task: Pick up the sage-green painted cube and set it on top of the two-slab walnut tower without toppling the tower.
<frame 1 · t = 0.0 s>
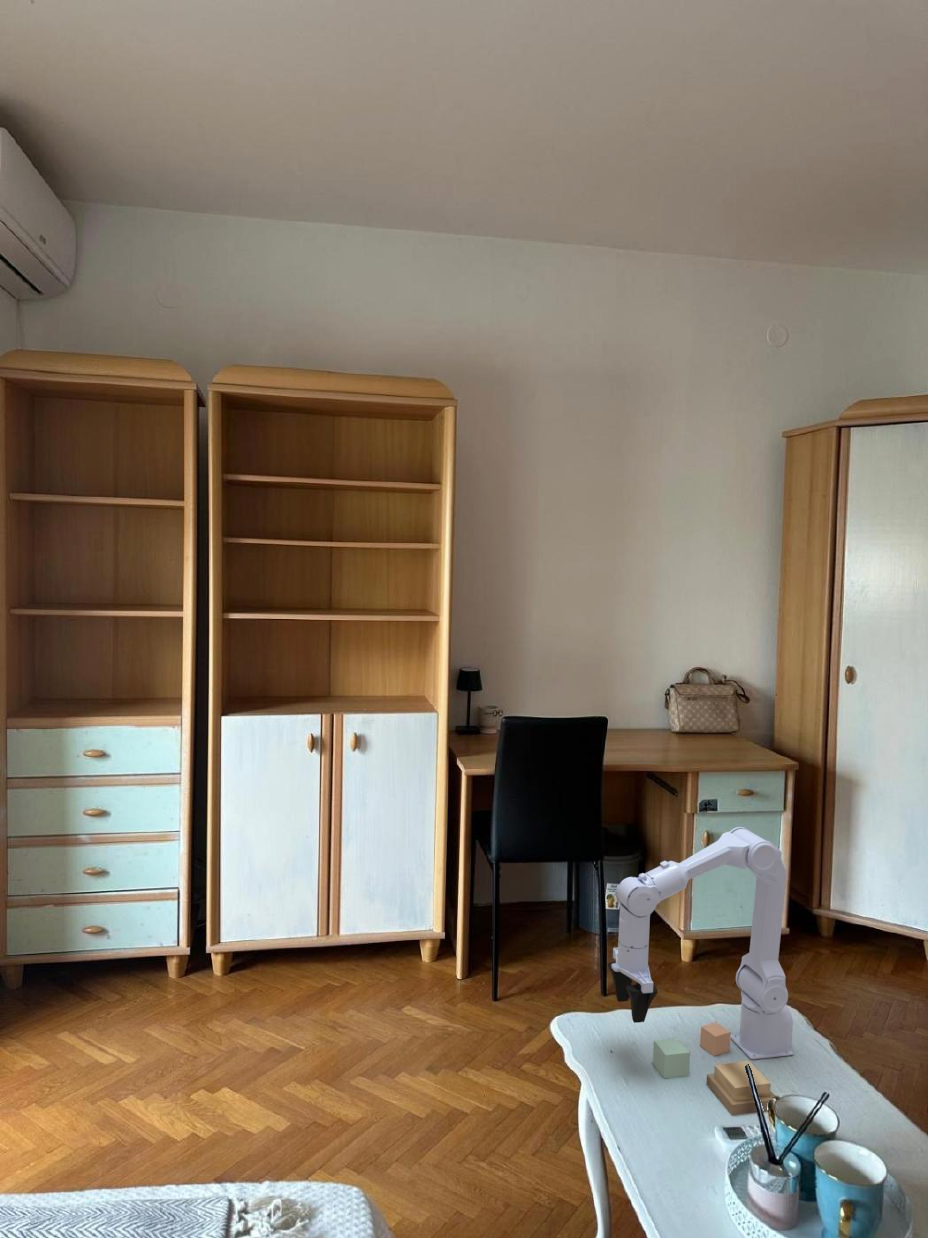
hand: (630, 1011, 165), 10 cm above the table, fingers open, 7 cm apart
slab top: (741, 1086, 156), point 2 cm above the table, touching slab bottom
slab bottom: (741, 1099, 156), on the table, touching slab top
sage cube: (670, 1069, 164), on the table
terracotta cube: (714, 1048, 171), on the table
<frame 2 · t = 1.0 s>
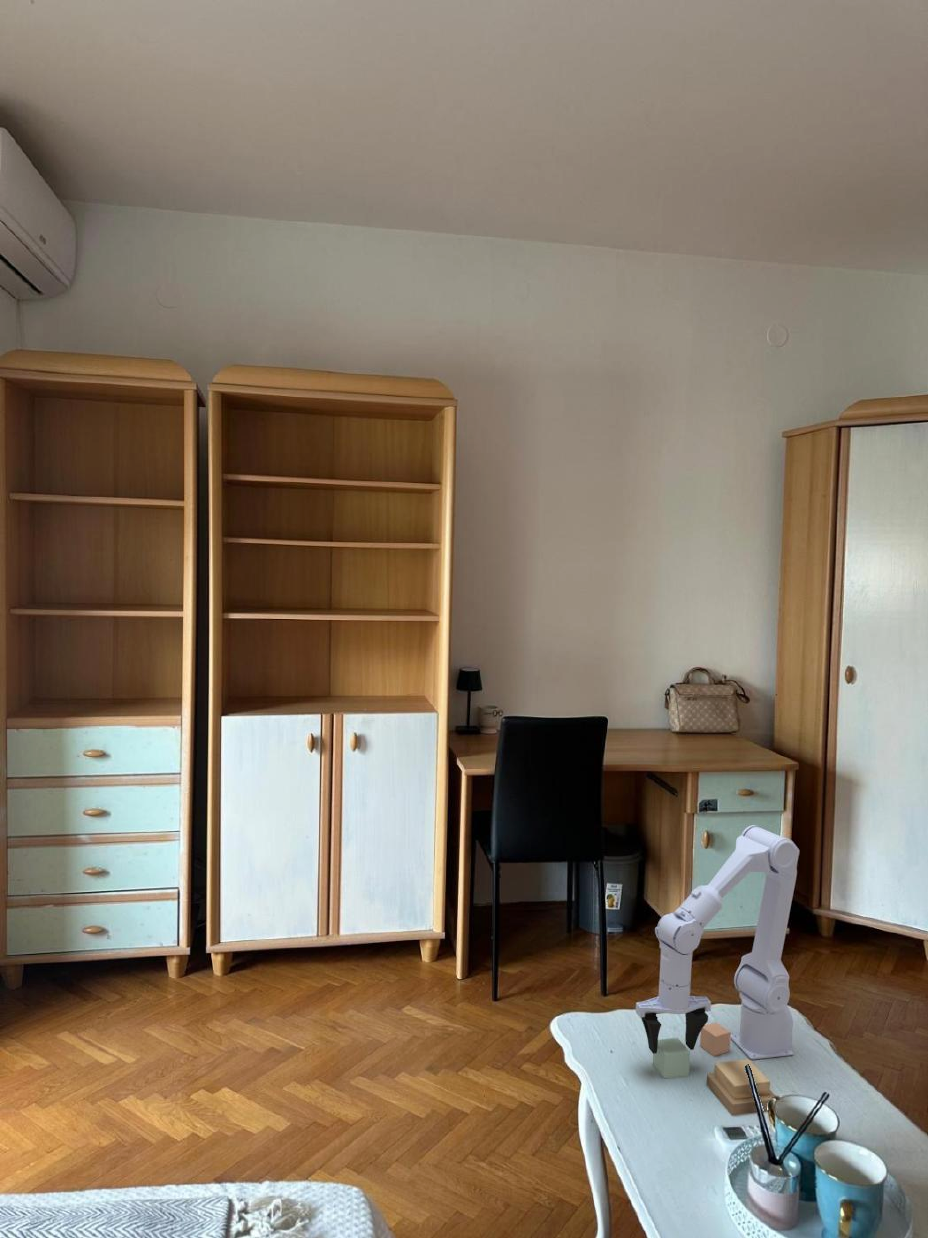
hand: (671, 1049, 163), 4 cm above the table, fingers open, 7 cm apart
slab top: (741, 1085, 156), point 2 cm above the table
slab bottom: (741, 1099, 156), on the table
everything else where it was.
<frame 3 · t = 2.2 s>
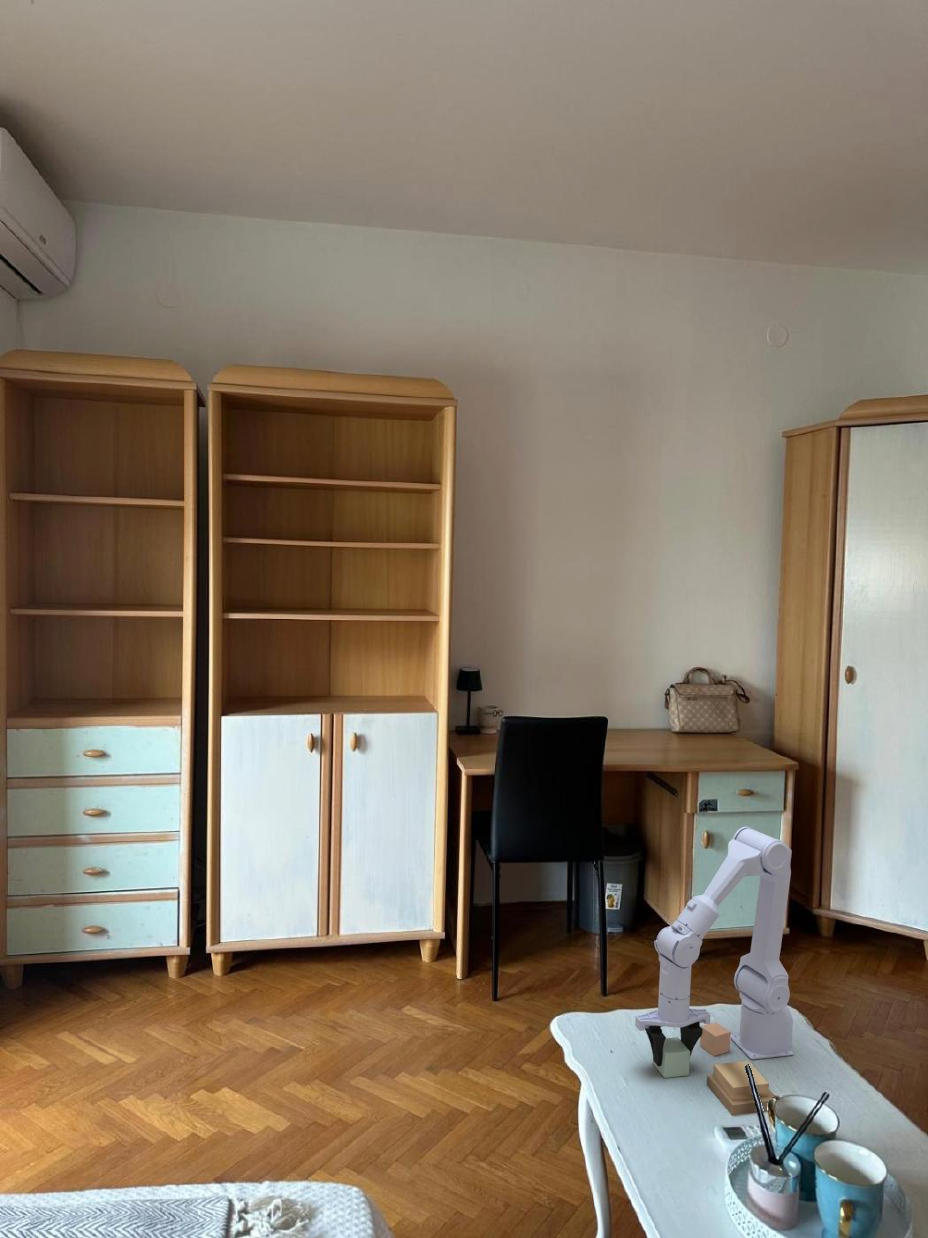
hand: (670, 1061, 164), 1 cm above the table, fingers closed on sage cube, 5 cm apart
slab top: (740, 1086, 156), point 2 cm above the table, touching slab bottom
slab bottom: (741, 1099, 156), on the table, touching slab top
sage cube: (670, 1069, 164), on the table, touching gripper
everything else where it was.
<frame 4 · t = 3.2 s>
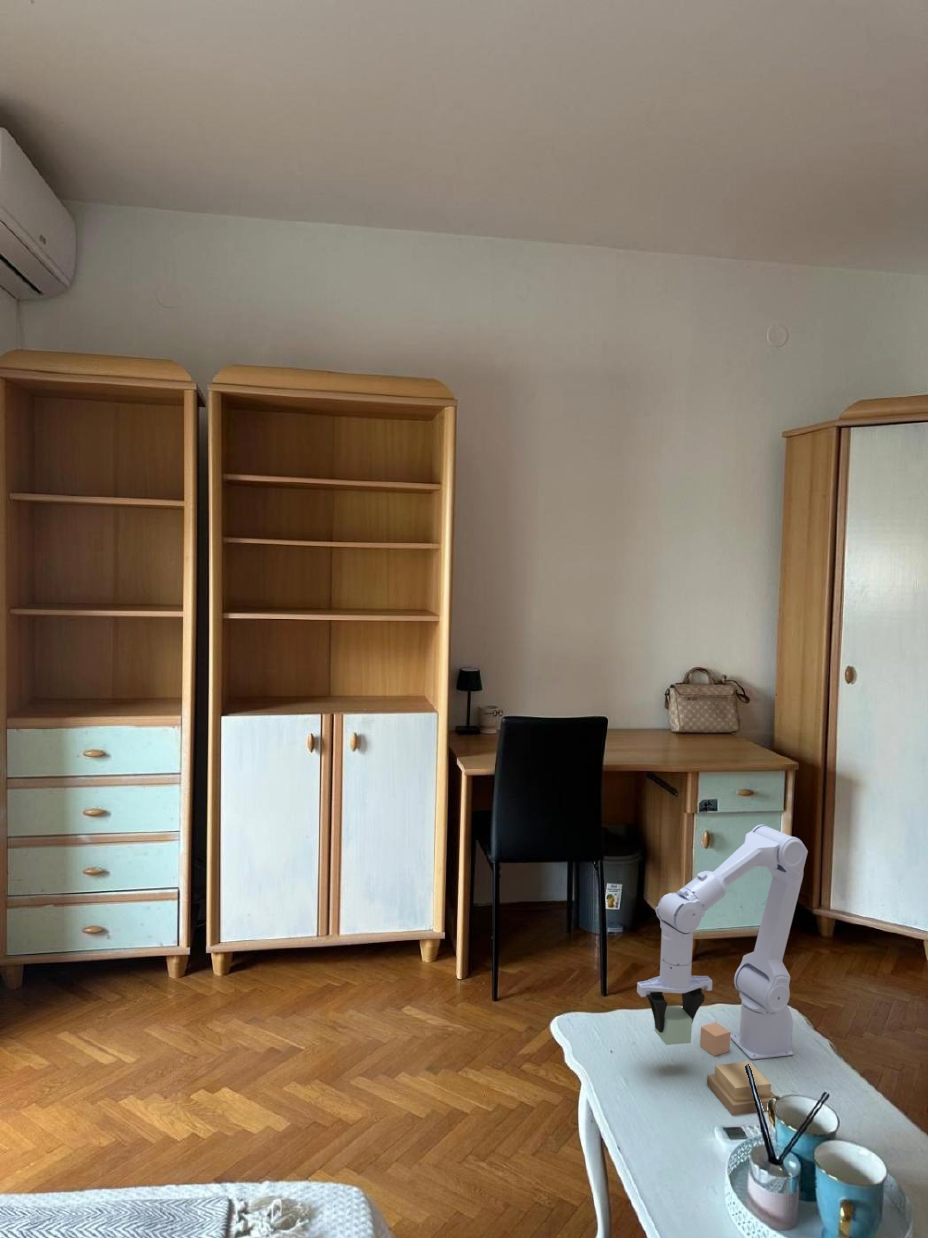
hand: (672, 1028, 163), 8 cm above the table, fingers closed on sage cube, 5 cm apart
sage cube: (672, 1036, 163), point 6 cm above the table, touching gripper
everything else where it was.
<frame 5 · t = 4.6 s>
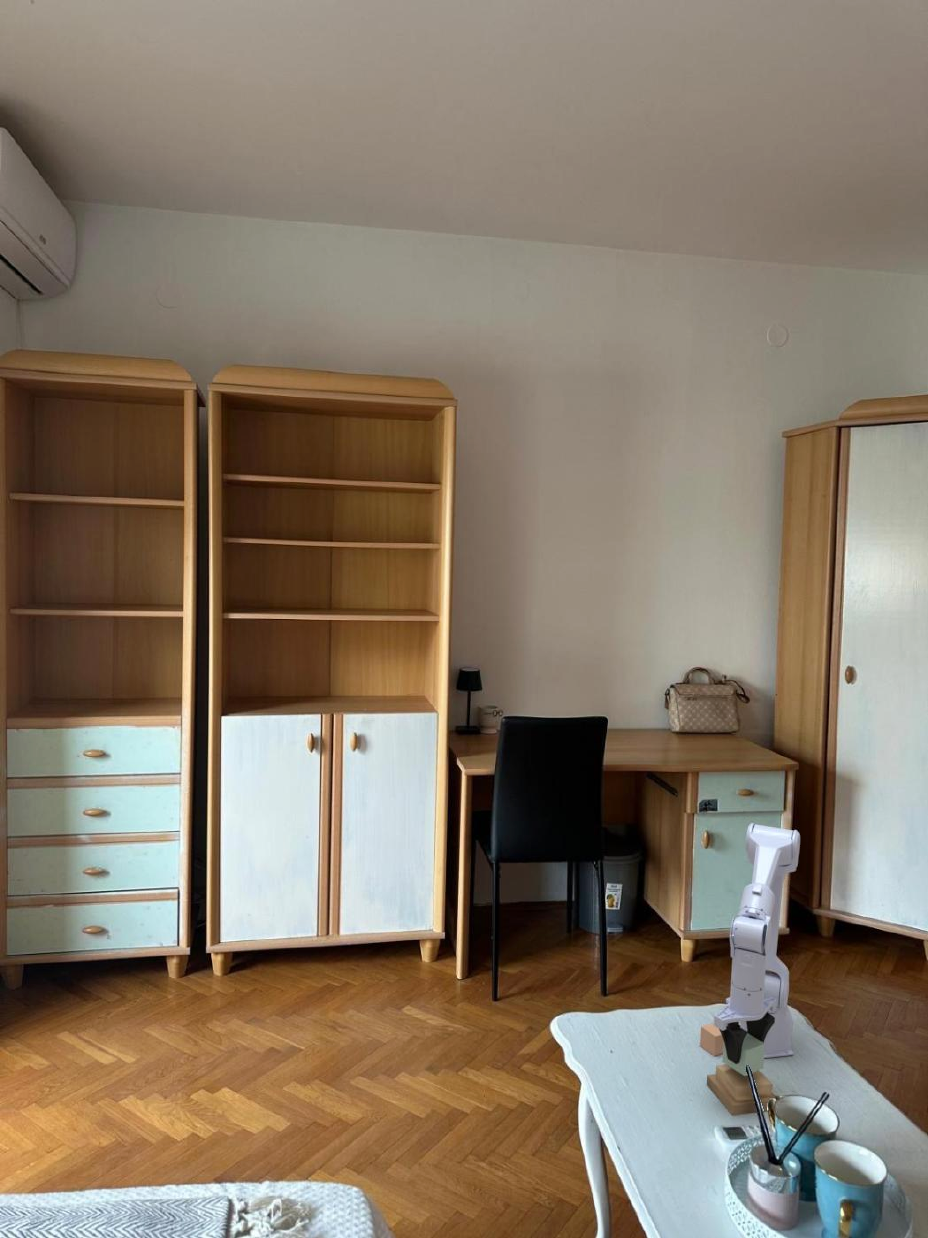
hand: (743, 1056, 155), 7 cm above the table, fingers closed on sage cube, 5 cm apart
sage cube: (742, 1065, 156), point 6 cm above the table, touching gripper
everything else where it was.
when the fingers open (7 cm above the table, at t = 5.5 s): sage cube drops 2 cm, resting on slab top.
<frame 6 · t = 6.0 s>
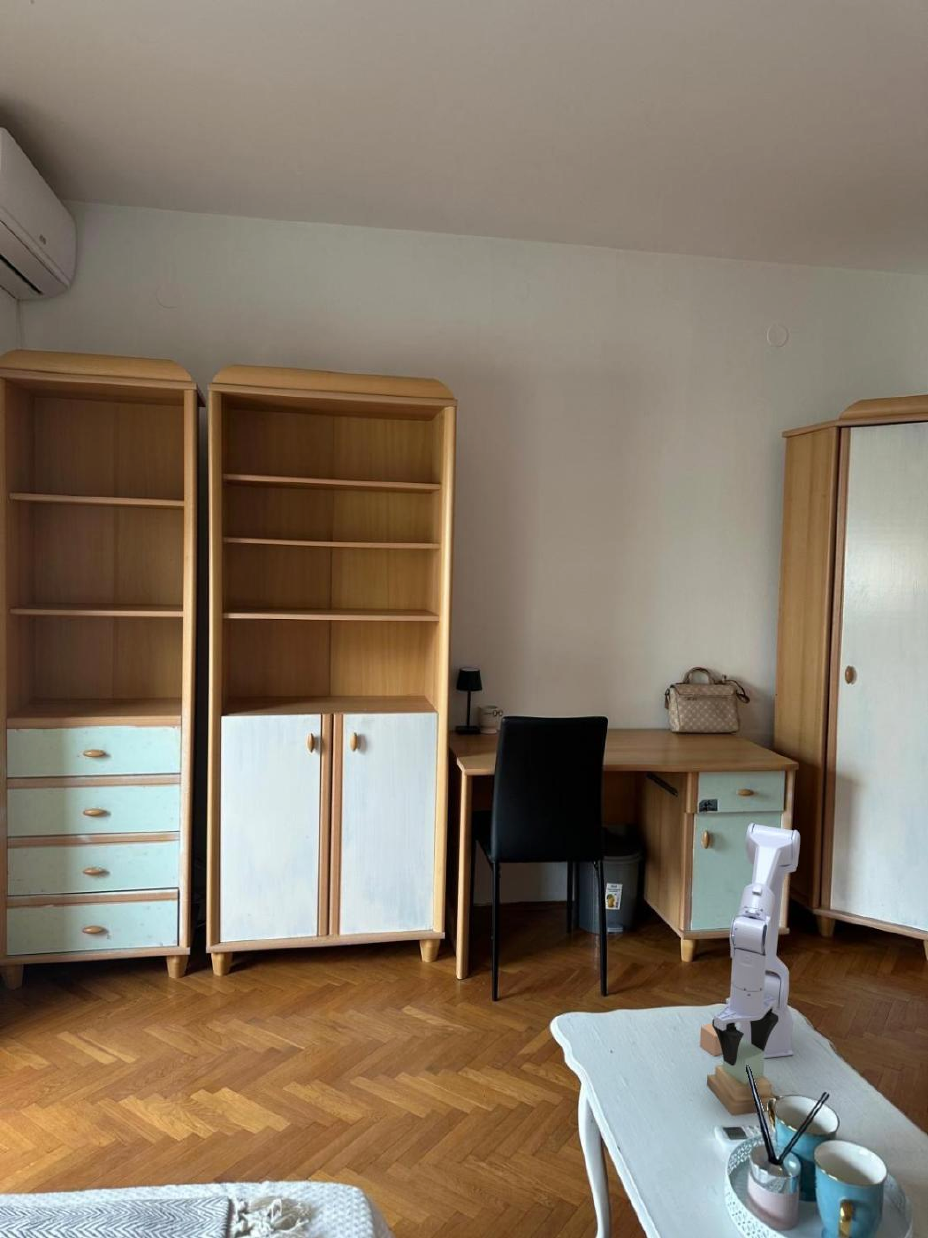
hand: (743, 1056, 155), 7 cm above the table, fingers open, 7 cm apart
slab top: (742, 1087, 156), point 2 cm above the table, touching sage cube, slab bottom
sage cube: (742, 1073, 156), point 4 cm above the table, touching slab top
everything else where it was.
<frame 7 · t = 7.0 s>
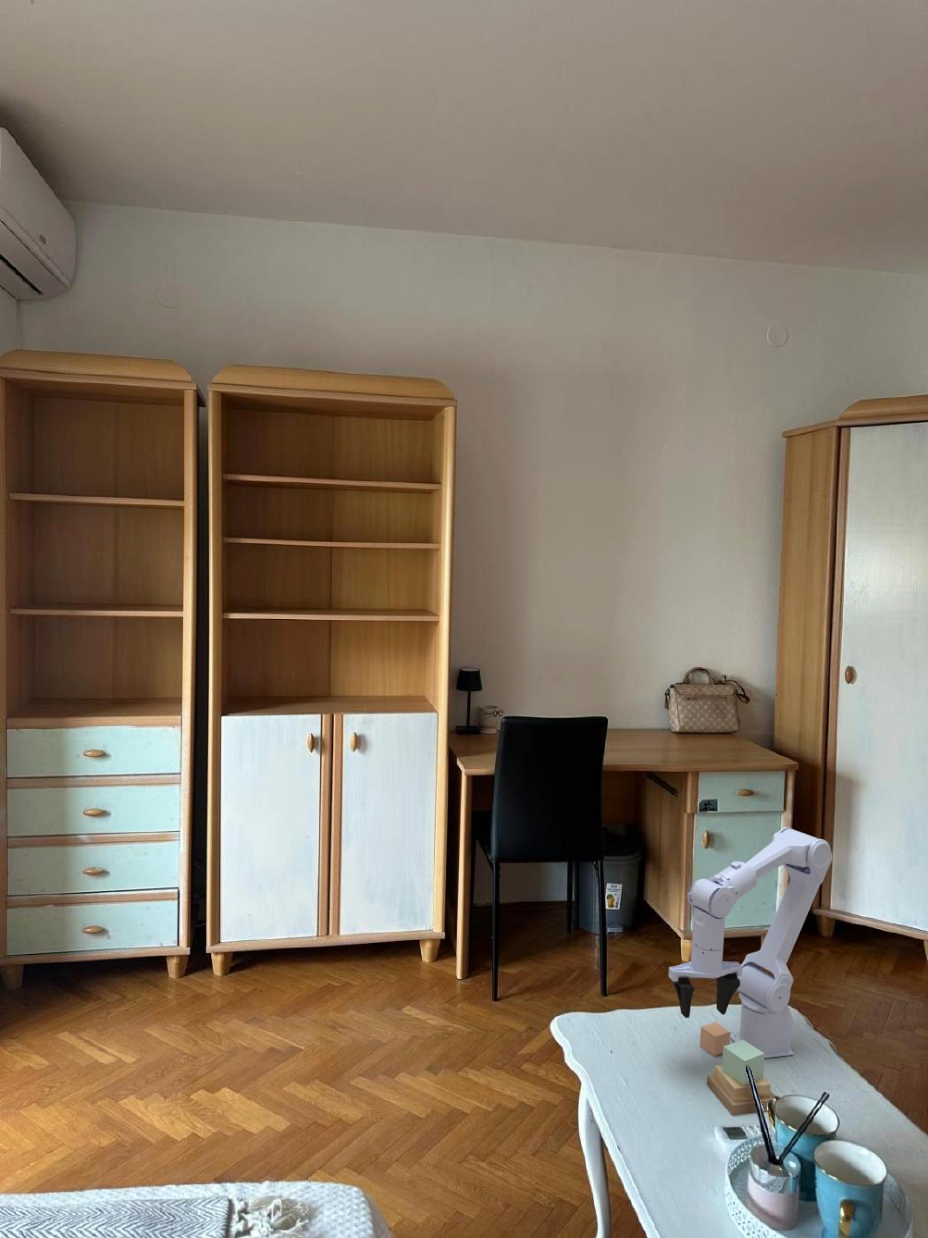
hand: (703, 1013, 164), 10 cm above the table, fingers open, 7 cm apart
slab top: (741, 1087, 156), point 2 cm above the table, touching slab bottom
sage cube: (742, 1074, 156), point 4 cm above the table
everything else where it was.
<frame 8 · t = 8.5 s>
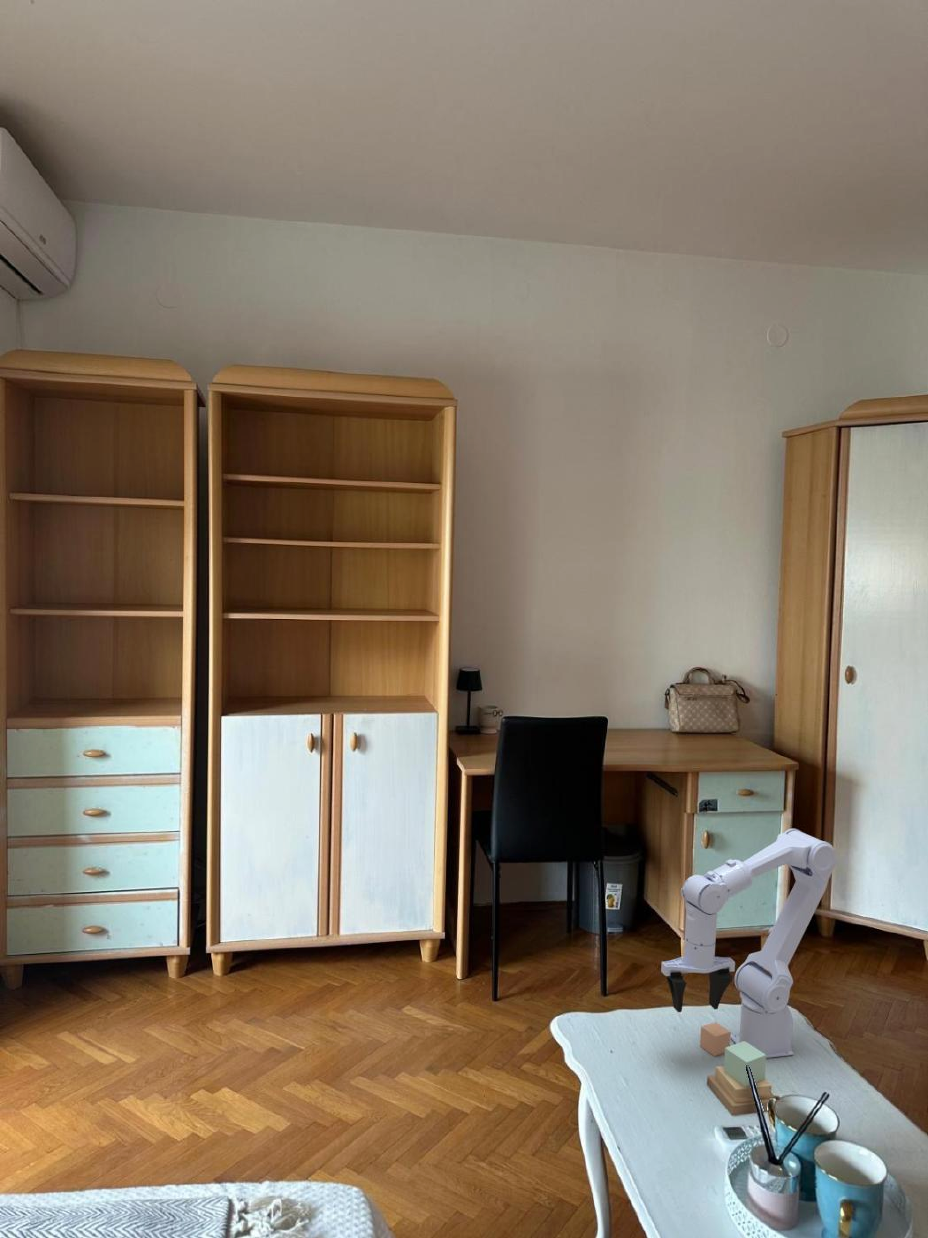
hand: (695, 1008, 166), 10 cm above the table, fingers open, 7 cm apart
slab top: (742, 1088, 156), point 2 cm above the table, touching sage cube, slab bottom
sage cube: (744, 1076, 155), point 4 cm above the table, touching slab top
everything else where it was.
at the end: sage cube 0.2 cm off-centre on the slab top, point 2.5 cm above the slab top's base; sage cube tilted 2°; slab top moved 0.7 cm from its start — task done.
